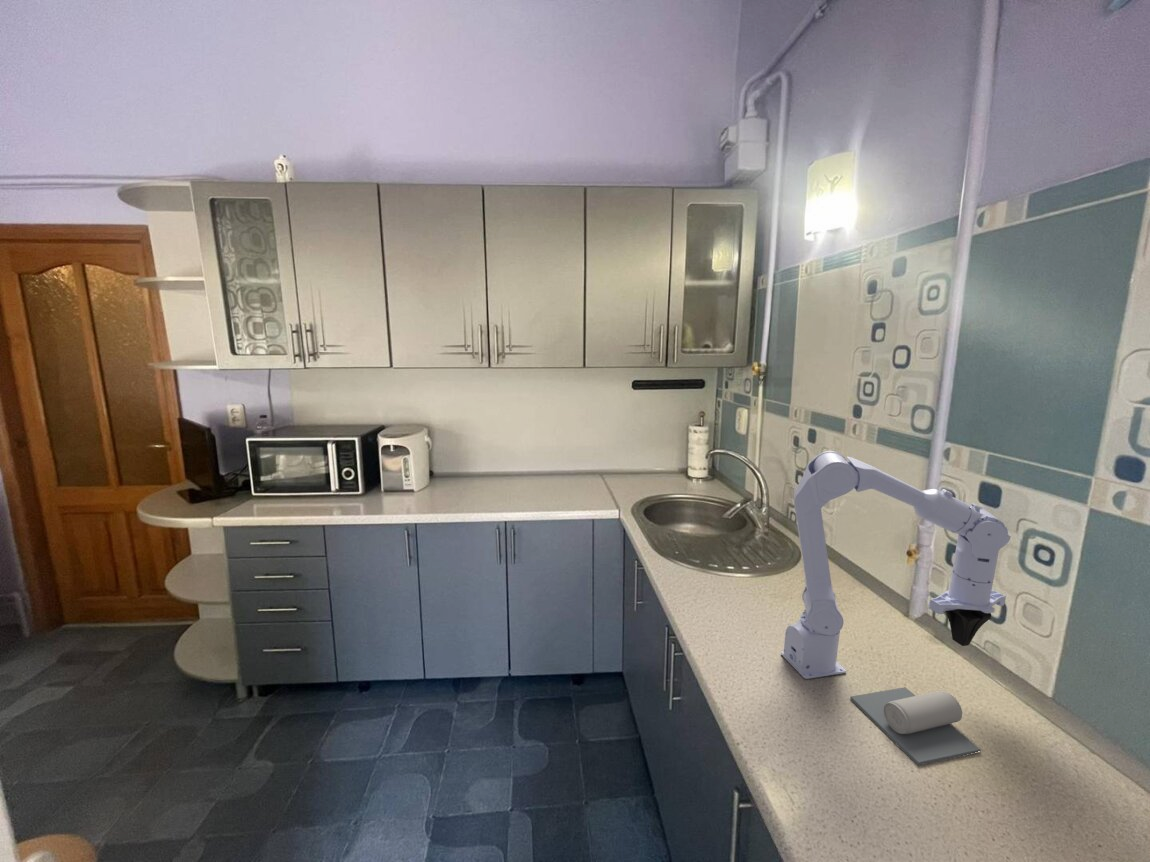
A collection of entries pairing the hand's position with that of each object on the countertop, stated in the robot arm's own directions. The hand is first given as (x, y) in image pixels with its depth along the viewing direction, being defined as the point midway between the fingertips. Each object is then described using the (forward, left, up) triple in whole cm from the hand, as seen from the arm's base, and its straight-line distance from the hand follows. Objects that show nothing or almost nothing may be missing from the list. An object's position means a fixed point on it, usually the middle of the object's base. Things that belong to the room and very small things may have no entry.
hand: (960, 642), depth 87 cm
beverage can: (-7, -6, -8) cm, 12 cm away
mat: (-15, -5, -10) cm, 19 cm away
